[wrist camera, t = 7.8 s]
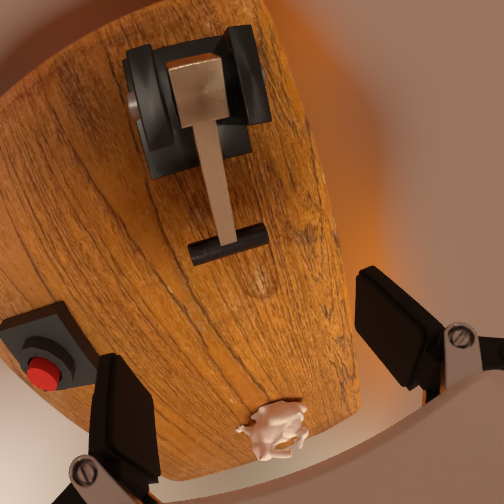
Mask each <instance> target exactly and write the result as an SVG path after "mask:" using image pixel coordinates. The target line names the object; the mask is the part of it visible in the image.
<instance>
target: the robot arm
mask: <svg viewBox="0 0 504 504" xmlns="http://www.w3.org/2000/svg"><path fill="white" fill-rule="evenodd" d="M355 328H356V331H357V332H358V333H359V334H360V336H361V337H362V338H363V339H364V341H365V342H366V343H367V344H368V346H369V347H370V348H371V349H372V350H373V352H374V353H375V354H376V355H377V357H378V358H379V359H380V360H381V361H382V363H383V364H384V365H385V366H386V368H387V369H388V370H389V371H390V373H391V374H392V375H393V376H394V378H395V379H396V380H397V381H398V383H399V384H400V385H401V386H402V387H405V386H406V387H407V388H408V390H409V391H411V390H412V389H414V388H415V387H417V386H418V385H420V387H421V388H422V389H423V399H422V407H421V408H420V409H418V410H416V411H415V412H414V413H412V414H410V415H409V416H407V417H406V418H404V419H402V420H401V421H399V422H398V423H396V424H394V425H393V426H391V427H389V428H388V429H386V430H384V431H382V432H381V433H379V434H377V435H375V436H374V437H372V438H370V439H368V440H366V441H364V442H363V443H360V444H359V445H357V446H355V447H353V448H351V449H349V450H347V451H344V452H342V453H340V454H338V455H336V456H334V457H332V458H329V459H327V460H325V461H322V462H320V463H318V464H315V465H313V466H310V467H308V468H306V469H303V470H300V471H297V472H295V473H292V474H289V475H286V476H284V477H280V478H277V479H274V480H271V481H268V482H265V483H261V484H258V485H255V486H252V487H247V488H244V489H240V490H236V491H232V492H227V493H223V494H218V495H213V496H208V497H203V498H197V499H191V500H185V501H178V502H171V503H162V502H161V501H160V500H158V499H157V498H156V497H155V496H154V495H152V494H151V493H150V492H149V486H148V484H153V483H159V482H158V476H160V475H161V470H160V463H159V455H158V447H157V438H156V428H155V417H154V403H153V399H152V396H151V394H150V393H149V392H148V391H147V389H146V388H145V387H144V386H143V385H142V383H141V382H140V381H139V379H138V378H137V377H136V376H135V374H134V373H133V372H132V370H131V369H130V368H129V366H128V365H127V364H126V362H125V361H124V360H123V358H122V357H121V356H120V355H116V354H115V353H109V354H105V355H101V356H100V357H99V361H98V368H97V375H96V382H95V391H94V394H93V397H92V405H91V416H90V430H89V451H88V455H81V456H78V457H77V458H75V459H74V460H73V461H72V463H71V465H70V468H69V477H70V480H71V483H70V484H69V485H68V486H67V488H66V489H65V490H64V491H63V492H62V493H61V494H60V495H59V496H58V497H57V498H56V500H55V501H54V502H53V503H52V504H504V338H493V337H480V336H478V335H477V333H476V331H475V330H474V328H472V327H471V326H470V325H468V324H466V323H461V322H455V323H452V324H450V325H449V326H447V327H446V328H445V327H443V325H442V324H441V323H440V322H439V321H438V320H437V319H436V318H434V317H433V316H432V315H431V314H430V313H429V312H428V311H427V310H426V309H424V308H423V307H422V306H421V305H420V304H419V303H418V302H416V301H415V300H414V299H413V298H412V297H411V296H410V295H408V294H407V293H406V292H405V291H404V290H403V289H401V288H400V287H399V286H398V285H397V284H396V283H394V282H393V281H392V280H391V279H390V278H388V277H387V276H386V275H385V274H383V273H382V272H381V271H380V270H379V269H378V268H376V267H375V266H369V267H367V268H365V269H362V270H360V271H359V275H357V277H356V301H355Z"/></svg>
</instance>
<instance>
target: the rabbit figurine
mask: <svg viewBox="0 0 504 504" xmlns="http://www.w3.org/2000/svg"><path fill="white" fill-rule="evenodd" d="M306 411H307V408H306V406H305V405H304V404H303V403H300V402H285V401H278V402H275V403H272V404H268V405H264V406H261V407H260V408H259V410H258V412H256V413H254V414H253V415H251V417H250V418H251V419H253V420H256V422H257V423H256V424H255V425H254V427H247V426H243V425H241V426H242V427H241V426H238V427H239V428H238V429H236V430H234V431H236V432H238V431H239V432H242V431H243V432H245V433H246V434H248V435H250V438H251V441H252V443H253V447H252V449H253V452H254V454H255V455H256V457H257V459H258V460H262V461H266V460H269V459H271V458H273V457H276V458H290V457H291V456H292V450H291V449H283V450H274V447H275V445H277V444H279V443H282V442H287V441H288V440H290V438H291V437H294V436H298V438H297V439H295V440H294V443H295V444H297V443H298V442H299V441H300V443H299V446H298V448H299V449H301V448H302V446H303V443H304V439H305V438H306V437H307V436H308V434H309V431H308V428H306V427H303V428H301V421H303V419H304V416H303V413H305V412H306Z"/></svg>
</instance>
